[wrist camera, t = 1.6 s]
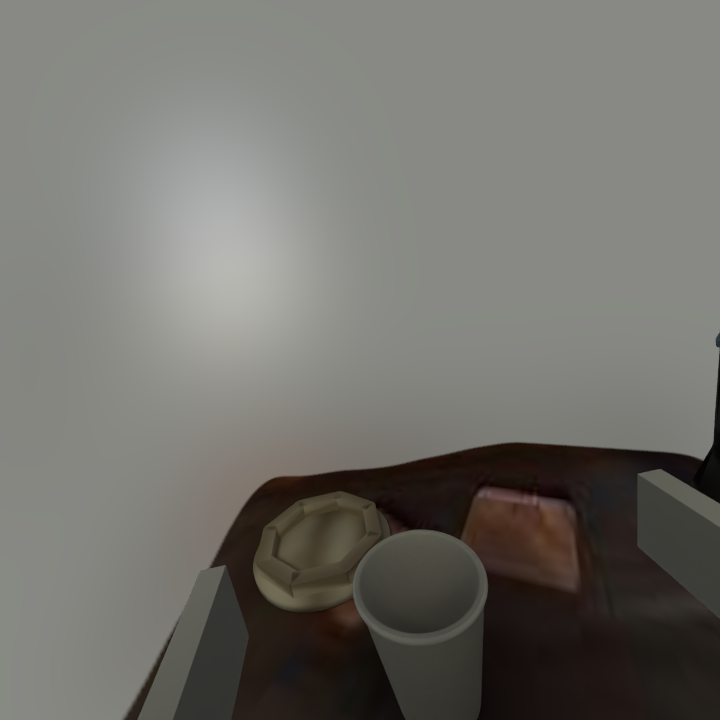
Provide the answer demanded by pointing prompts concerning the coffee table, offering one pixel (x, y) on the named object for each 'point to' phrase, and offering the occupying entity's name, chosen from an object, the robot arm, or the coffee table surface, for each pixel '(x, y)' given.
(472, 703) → the dixie cup
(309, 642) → the coffee table surface
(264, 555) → the rimmed coaster
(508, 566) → the coffee table surface
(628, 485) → the coffee table surface
